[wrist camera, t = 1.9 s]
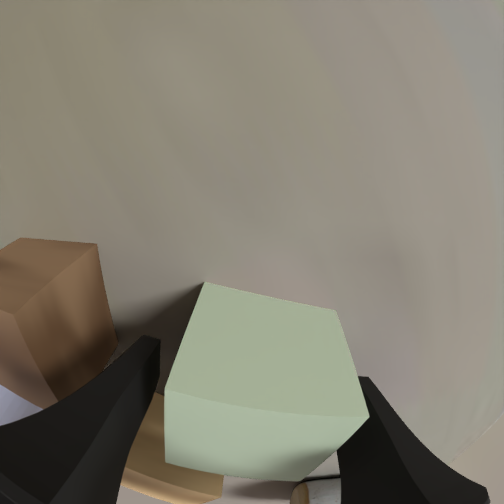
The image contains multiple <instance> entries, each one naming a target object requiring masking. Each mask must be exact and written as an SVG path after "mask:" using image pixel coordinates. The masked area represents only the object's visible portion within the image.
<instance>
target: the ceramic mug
mask: <svg viewBox="0 0 504 504" xmlns="http://www.w3.org/2000/svg"><path fill="white" fill-rule="evenodd" d="M290 504H341V478H336V479H324V480H313V481H308V482H304V483H300V484H299V485H297V486H296V487H295V488H294V490H293V492H292V495H291V499H290Z"/></svg>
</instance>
